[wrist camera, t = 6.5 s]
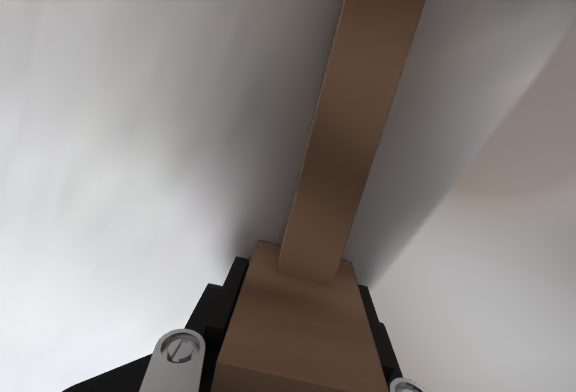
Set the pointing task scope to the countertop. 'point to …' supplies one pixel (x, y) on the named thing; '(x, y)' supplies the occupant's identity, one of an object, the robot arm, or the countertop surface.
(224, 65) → the countertop surface
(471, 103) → the countertop surface
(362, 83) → the crook
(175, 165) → the countertop surface
